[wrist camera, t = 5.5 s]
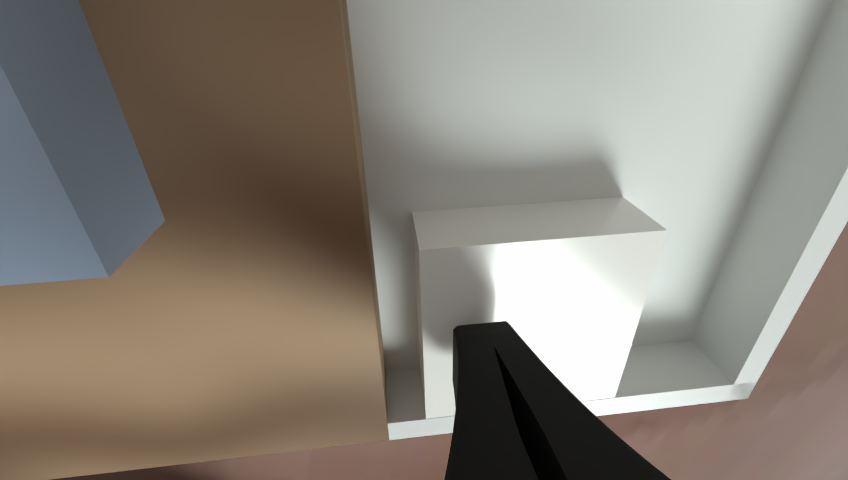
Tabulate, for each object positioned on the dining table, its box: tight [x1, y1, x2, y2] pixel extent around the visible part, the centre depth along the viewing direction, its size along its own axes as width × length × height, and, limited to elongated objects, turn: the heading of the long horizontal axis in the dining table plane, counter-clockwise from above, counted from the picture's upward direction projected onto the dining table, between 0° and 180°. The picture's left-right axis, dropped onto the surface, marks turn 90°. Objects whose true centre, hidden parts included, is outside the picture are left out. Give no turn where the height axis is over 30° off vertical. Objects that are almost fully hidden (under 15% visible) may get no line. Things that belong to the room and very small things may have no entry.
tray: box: [346, 0, 848, 440], centre depth 10 cm, size 15×12×2 cm
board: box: [0, 0, 389, 480], centre depth 9 cm, size 15×14×2 cm
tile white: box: [412, 197, 667, 419], centre depth 12 cm, size 6×6×2 cm
